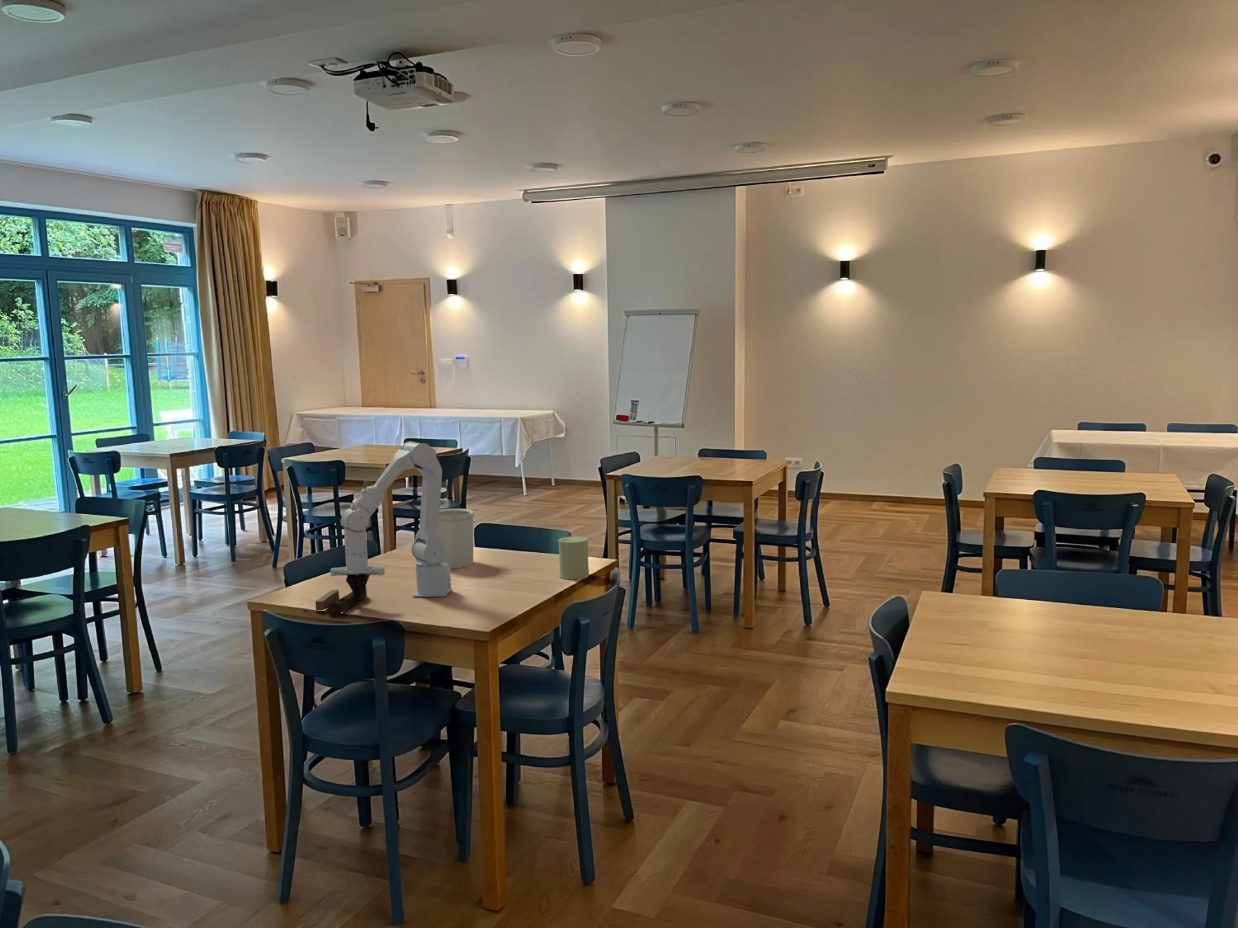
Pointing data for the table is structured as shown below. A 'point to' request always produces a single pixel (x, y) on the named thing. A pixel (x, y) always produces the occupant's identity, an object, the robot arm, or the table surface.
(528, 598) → the table surface
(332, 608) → the hand tool
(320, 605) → the block
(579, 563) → the can
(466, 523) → the utensil holder
